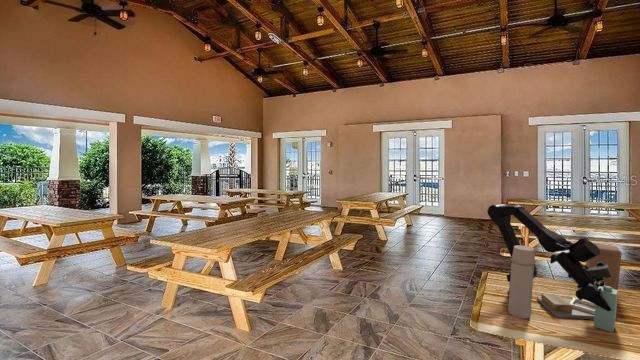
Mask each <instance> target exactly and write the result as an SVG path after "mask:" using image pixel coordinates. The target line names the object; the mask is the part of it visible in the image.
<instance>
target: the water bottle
mask: <svg viewBox="0 0 640 360" xmlns="http://www.w3.org/2000/svg"><path fill="white" fill-rule="evenodd" d="M535 254H536V253H535V248H533V247H532V246H528V245H521V244H520V245H516V246H514V249H513V255H512V258H511V257H510V259H509V260H510V261H511V265H510V266H511V267H510V273H511V279H510V282H509V285H510V294H509V293H508V294H509V297H508V309H507V310H508V313H509V314H510V315H511V316H512V317H515V318H518V319H521V320H522V319H525V320H526V319H529V318H531V312H532V301H533V287H534V278H533V273H534V264H536V262H537V261H536V255H535Z"/></svg>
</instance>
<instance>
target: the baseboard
mask: <svg viewBox="0 0 640 360" xmlns="http://www.w3.org/2000/svg"><path fill="white" fill-rule="evenodd" d="M541 298H542V296H541V297H539V296H537V298H536V301H538V302H539V304H541V305H542V306H544V307H545V309H547V310H548V311H549V312H550V313H552V315H554V316H555V317H556V318H563V319H580V320H594V317H595V306H596V304H594V303H592V302H590V301H588V300H586V299H585V300H584V299H582V300H579V299H578V298H577V297H574V296H573V297H571V298H563V297H562V298H563V299H565V300H566V301H567V302H569V303H570V304H572V312H567V311H554V310H553V309H552V308H550V307H549V306H548V305H547V304H546V303H544V302H543V301H542V300H541ZM616 321H617V316H616V318H615V322H616Z"/></svg>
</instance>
